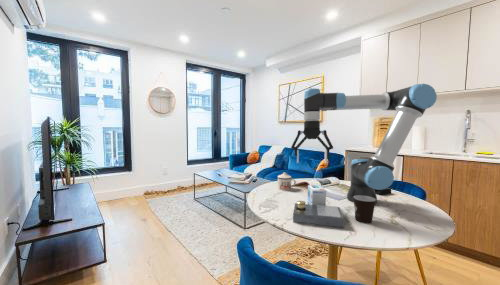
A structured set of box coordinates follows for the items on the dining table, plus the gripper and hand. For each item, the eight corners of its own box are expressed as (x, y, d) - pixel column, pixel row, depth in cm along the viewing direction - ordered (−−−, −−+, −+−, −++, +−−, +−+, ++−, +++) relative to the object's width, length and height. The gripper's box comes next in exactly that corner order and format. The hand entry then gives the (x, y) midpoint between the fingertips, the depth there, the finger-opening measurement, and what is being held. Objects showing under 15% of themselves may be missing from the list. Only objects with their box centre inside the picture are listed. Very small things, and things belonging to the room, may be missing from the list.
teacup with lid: (279, 192, 143) (279, 174, 142) (275, 188, 152) (276, 171, 151) (297, 192, 144) (298, 173, 143) (293, 188, 153) (293, 171, 152)
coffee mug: (374, 226, 93) (374, 202, 92) (351, 222, 97) (352, 199, 97) (375, 217, 103) (376, 195, 102) (354, 213, 107) (355, 192, 107)
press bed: (339, 215, 105) (339, 206, 104) (343, 228, 91) (343, 217, 91) (295, 211, 110) (295, 202, 109) (293, 222, 96) (293, 212, 96)
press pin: (305, 209, 103) (305, 201, 103) (305, 212, 100) (305, 203, 99) (297, 209, 104) (297, 200, 104) (296, 211, 101) (296, 203, 100)
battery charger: (362, 191, 148) (362, 185, 147) (372, 190, 152) (372, 184, 151) (380, 197, 136) (381, 190, 136) (391, 195, 140) (391, 188, 140)
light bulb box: (307, 205, 119) (307, 184, 119) (319, 205, 119) (320, 185, 118) (311, 212, 109) (312, 190, 108) (326, 212, 108) (326, 190, 108)
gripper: (336, 120, 114) (336, 162, 115) (286, 121, 119) (286, 161, 120) (339, 119, 107) (339, 164, 108) (286, 120, 112) (286, 163, 113)
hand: (311, 163), depth 114 cm, fingers open, 13 cm apart
